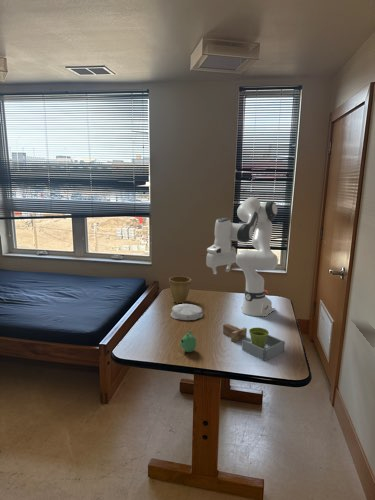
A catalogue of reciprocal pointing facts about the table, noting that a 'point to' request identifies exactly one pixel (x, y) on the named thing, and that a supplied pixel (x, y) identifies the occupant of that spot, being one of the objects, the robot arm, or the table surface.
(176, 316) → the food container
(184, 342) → the alien toy
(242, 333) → the wooden angled block
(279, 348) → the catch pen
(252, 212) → the robot arm
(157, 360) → the table surface
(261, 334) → the plant pot
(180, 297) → the plant pot
